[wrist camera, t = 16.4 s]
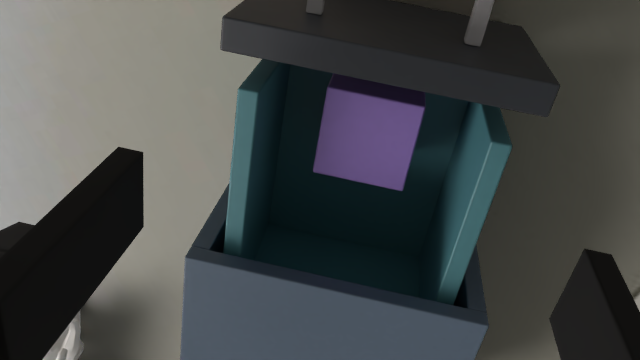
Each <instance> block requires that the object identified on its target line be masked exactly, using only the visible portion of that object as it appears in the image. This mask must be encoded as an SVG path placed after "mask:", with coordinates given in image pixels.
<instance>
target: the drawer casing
mask: <svg viewBox="0 0 640 360" xmlns="http://www.w3.org/2000/svg"><path fill="white" fill-rule="evenodd" d="M229 184H230V183H229ZM229 184H228V186H227V188H226V189H225V191H224V193H223V194H222V196H221V198H220V199H219V201H218V203H217V204H216V206H215V208H214V209H213V211H212V213H211V214H210V216H209V218H208V219H207V221H206V223H205V224H204V226H203V228H202V229H201V231H200V233H199V234H198V236H197V238H196V239H195V241H194V243H193V244H192V247H191V248H190V250H189V251H188V253H187V255H186V256H185V269H184V290H183V312H182V333H181V354H180V360H475V357H476V355H477V353H478V350H479V348H480V346H481V343H482V341H483V339H484V336H485V334H486V332H487V329H488V327H489V324H488V317H487V311H486V304H485V298H484V292H483V285H482V279H481V272H480V266H479V259H478V253H477V246H475V248H474V251H473V254H472V256H471V259H470V262H469V264H468V267H467V270H466V272H465V275H464V278H463V280H462V283H461V286H460V288H459V291H458V294H457V297H456V299H455V302H454V305H449V304H445V303H440V302H436V301H431V300H427V299H422V298H418V297H414V296H409V295H405V294H400V293H396V292H392V291H387V290H383V289H378V288H374V287H369V286H365V285H361V284H356V283H352V282H347V281H343V280H338V279H334V278H330V277H325V276H321V275H316V274H312V273H308V272H303V271H299V270H294V269H290V268H285V267H281V266H277V265H272V264H268V263H263V262H259V261H254V260H250V259H246V258H241V257H237V256H232V255H228V254H223V250H224V239H225V228H226V217H227V206H228V195H229Z"/></svg>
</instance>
